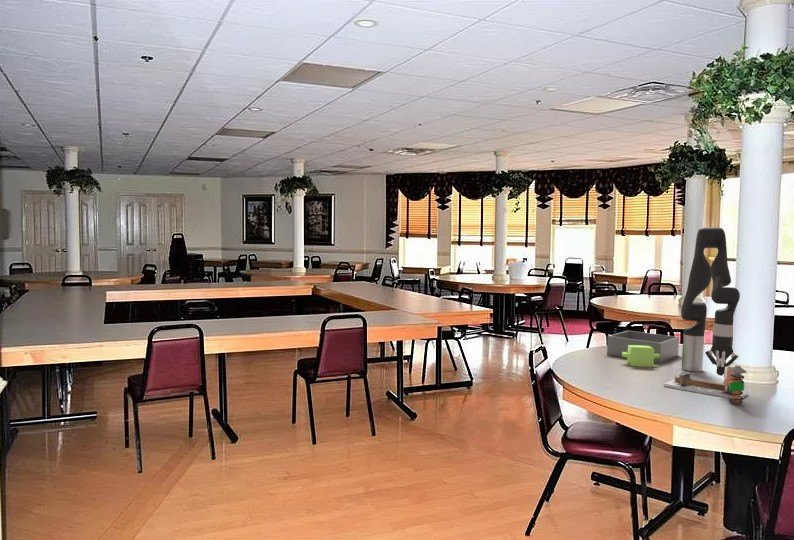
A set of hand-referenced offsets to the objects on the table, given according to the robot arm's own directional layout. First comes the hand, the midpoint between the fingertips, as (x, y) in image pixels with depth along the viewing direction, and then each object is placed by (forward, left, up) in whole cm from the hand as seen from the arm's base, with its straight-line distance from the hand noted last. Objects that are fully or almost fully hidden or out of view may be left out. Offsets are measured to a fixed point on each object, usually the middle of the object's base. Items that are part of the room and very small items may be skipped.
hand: (720, 375), depth 268 cm
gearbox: (-29, -44, -7) cm, 53 cm away
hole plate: (+3, -5, -7) cm, 9 cm away
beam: (+2, -5, -6) cm, 8 cm away
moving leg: (+2, +4, -5) cm, 7 cm away
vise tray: (-55, -53, -7) cm, 77 cm away
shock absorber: (+16, +10, -7) cm, 20 cm away
